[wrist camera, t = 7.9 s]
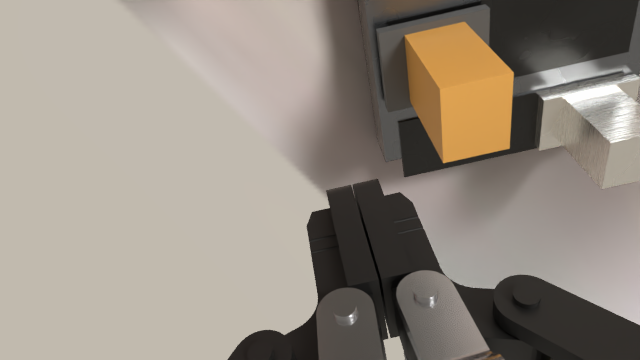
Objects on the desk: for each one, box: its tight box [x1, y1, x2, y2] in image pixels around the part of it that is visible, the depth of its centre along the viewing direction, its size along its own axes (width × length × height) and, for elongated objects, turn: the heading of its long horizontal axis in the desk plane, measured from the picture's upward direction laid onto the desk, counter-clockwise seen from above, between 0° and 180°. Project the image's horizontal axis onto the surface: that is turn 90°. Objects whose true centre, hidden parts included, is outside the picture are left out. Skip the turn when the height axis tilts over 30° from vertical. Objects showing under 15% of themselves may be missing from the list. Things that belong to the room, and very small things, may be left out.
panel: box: [358, 0, 640, 189], centre depth 20 cm, size 12×12×6 cm
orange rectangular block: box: [376, 4, 514, 163], centre depth 19 cm, size 4×4×5 cm
